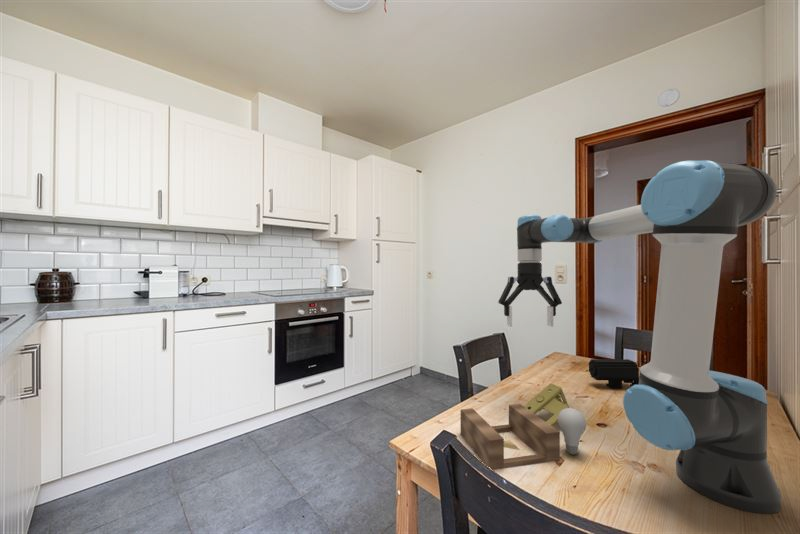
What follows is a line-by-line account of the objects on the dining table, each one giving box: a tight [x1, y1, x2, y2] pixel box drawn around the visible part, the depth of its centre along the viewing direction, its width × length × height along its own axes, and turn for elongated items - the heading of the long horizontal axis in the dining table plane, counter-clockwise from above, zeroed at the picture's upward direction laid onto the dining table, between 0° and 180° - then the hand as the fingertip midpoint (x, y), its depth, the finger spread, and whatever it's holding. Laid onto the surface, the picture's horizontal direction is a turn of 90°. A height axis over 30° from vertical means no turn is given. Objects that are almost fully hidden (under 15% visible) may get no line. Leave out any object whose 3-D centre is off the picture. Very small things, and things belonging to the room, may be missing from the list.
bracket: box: [523, 383, 570, 427], centre depth 94 cm, size 10×14×10 cm
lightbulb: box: [557, 407, 587, 455], centre depth 78 cm, size 6×6×11 cm
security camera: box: [588, 358, 640, 389], centre depth 123 cm, size 7×18×10 cm, turn 89°
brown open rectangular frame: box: [460, 403, 561, 471], centre depth 80 cm, size 16×18×7 cm
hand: (529, 326), depth 106 cm, fingers open, 13 cm apart
